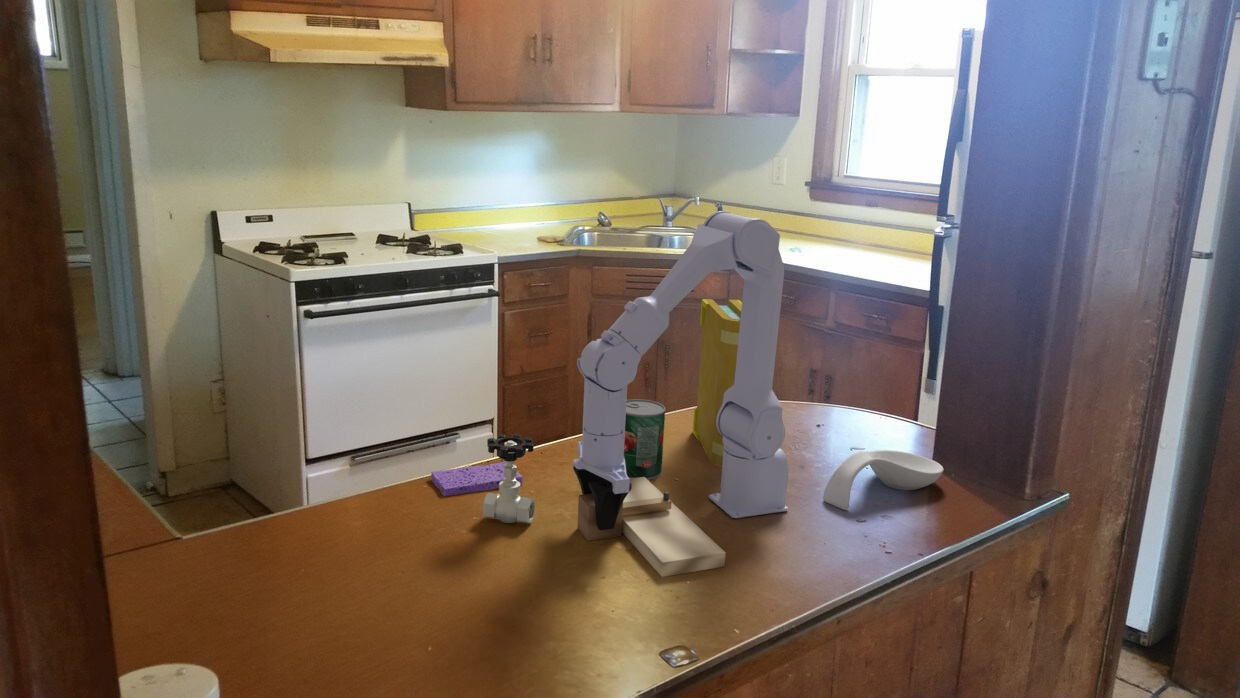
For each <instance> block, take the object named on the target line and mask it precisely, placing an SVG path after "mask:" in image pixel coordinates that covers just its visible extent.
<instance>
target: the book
mask: <svg viewBox="0 0 1240 698" xmlns="http://www.w3.org/2000/svg"><path fill="white" fill-rule="evenodd" d="M700 307H701V308H700V321H699V322H700V323H699V326H700V327H701V328H702V329H701V330H702V332H701V342H700V343H701V346H700V355H699V357H700V359H699V372H698V373H699V374H698V375H699V376H698V386H697V399H696V400H697V402H696V403H697V404H696V407H694V409H693V421H692V434H693V436H694V435H695V436H694V438H695V437H696V438H695V440H696V439H699V440H700V441H699V440H698V441H699V442H700V444H701V445H702V448H703V447H704V448H703V450H704V449H705V450H704V452H705V451H706V452H705V454H706V453H707V454H706V455H707V458H708V459H709V461H710V463H711V462H712V464H713V465H715V466H717V465H718V467H720V466H721V467H720V468H722V464H723V452H724V444H723V443H722V441H723V436H722V435H721V434H720V433H719V431H718V429H717V426H716V418H717V414H718V412H719V410H720V408H721V406H722V403H723V398H724V393H725V392H726V391H727V390H728V389H729V388H731V387H732V386H733V385H734V382H735V372H736V361H737V351H738V340H739V329H740V319H741V308H742V301H741V300H740V299H728V304H727V305H719V304H718V303H717V302H716V301H715V300H714V299H713V298H706V299H705V298H702V299H701V306H700Z"/></svg>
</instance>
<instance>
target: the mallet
mask: <svg viewBox="0 0 1240 698" xmlns="http://www.w3.org/2000/svg"><path fill="white" fill-rule="evenodd" d="M662 494H663V497H661V498H654V499H646V500H638V501H631V502H623V503H622V505H621V507H620V510H619V513H618V516H617V520H616V523H615V526H614V528H613V529H608V530H599V529H598V526H597V520H596V508H595V502H594V498H593V494H583V495H582V494H578V507H577V529H578V531H579V532H580V533H581V535H582V536H583V538H585V540H586V541H587V542H588V541H594V540H600V539H601V540H602V539H603V540H604V539H608V538H609V539H610V538H616V537H622V534H623V533H622V516H624V515H632V514H639V513H646V512H654V511H661V510H668V509H671V503H673V502H672V500H671V499H670V491H669V492H668V491H664V492H663V493H662Z"/></svg>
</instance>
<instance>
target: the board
mask: <svg viewBox="0 0 1240 698" xmlns="http://www.w3.org/2000/svg"><path fill="white" fill-rule="evenodd" d="M630 483H631V484H632V487H631V491H630V492H629V493H628V494H627V496H626V497H625V499H624V501H623V502H631V501H638V500H646V499H654V498H661V497H663V494H664V493H663V492H662V491H660V490H659V489H658V488H657V487H656V486H655V485H654V484H652V482H650V481H649V480H647V479H646V478H645V477H639V478H630ZM622 534H623V536H625V538H626V539H628V540H629V542H630V543H631V545H633V546H634V548H636V549H637V551H638V552H639V553H640V554H641V556H642V557H644V559H645V560H646V561H647V562H648V563H649V565H650V566H651V567H652V568H653V569H654V570H655V571H656V572H657V573H658V575H659V576H660V577H661V578H663V577H664V578H665V577H670V576H675V575H676V576H677V575H680V574H688V573H693V572H700V571H705V570H711V569H719V568H723V567H725V564H726V561H725V560H726V551H725V550H723V549H722V547H720V546H719V544H718V543H716V542H715V541H714V540H713V539H712V538H711V537H710V536H709V535H707V534H706V533H705V532H704V530H702V529H701V528H700V527H699V526H698V525H697V524H696V523H694V522H693V521H692V519H690V518H689V517H688V516H687V515H686V514H685V513H684V512H683V511H682V510H680V508H679V507H678V506H676V505H675V504H674V503H673V502H672V503H671V509H668V510H661V511H654V512H646V513H639V514H632V515H624V516H622Z"/></svg>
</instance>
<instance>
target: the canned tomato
mask: <svg viewBox="0 0 1240 698" xmlns="http://www.w3.org/2000/svg"><path fill="white" fill-rule="evenodd" d="M665 420H666V407H665V405H663V404H662V403H661V402H657V401H655V400H650V399H643V398H642V399H639V398H638V399H627V400H626V420H625V440H624V459H625V465H626V474H627V476H628V478H629V479H630V478H639V477H645V478H646V479H647V480H648V481H649V480H650V481H651V480H654V479H656V478H659V477H660V476H661V475H662V472H663V470H662V467H663V455H664V454H663V453H664V437H665V435H664V434H665Z"/></svg>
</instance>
